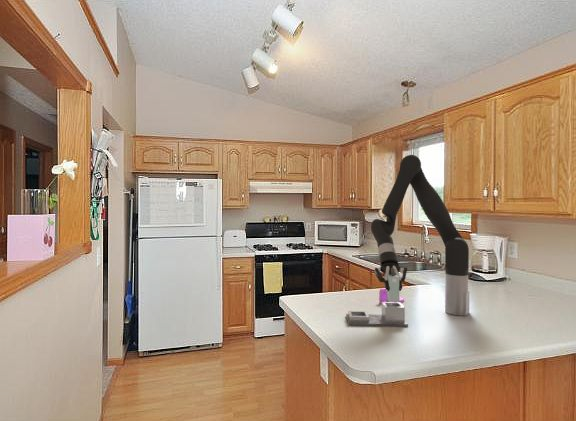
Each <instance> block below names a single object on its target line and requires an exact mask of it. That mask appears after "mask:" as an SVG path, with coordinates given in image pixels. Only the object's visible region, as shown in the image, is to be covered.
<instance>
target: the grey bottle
mask: <svg viewBox="0 0 576 421" xmlns="http://www.w3.org/2000/svg"><path fill="white" fill-rule="evenodd" d="M399 276H400V275H399ZM399 276H398V275H395V268H391V275H387V277H388V282H389V287H390V290H389V291H387V299H388V300H389V301H400V300H399V297H400V291H399Z"/></svg>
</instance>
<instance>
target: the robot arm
mask: <svg viewBox="0 0 576 421" xmlns="http://www.w3.org/2000/svg"><path fill="white" fill-rule="evenodd" d="M409 186H411V187H412V190H413V192H414V195H415V196H416V200H417V201H418V202H419V205H420V207H421V209H422V211H423V213H424V214H425V216H426V217H427V219H428V220H429V222H430V223H431V225H432V226H433V227H434V228H435V230H436V231H437V232H438V234H439V237H440V238H441V240H442V243H443V244H444V247H445V250H444V256H445V258H444V259H445V260H444V268H445V269H444V270H445V271H444V276H445V277H444V278H445V281H444V282H445V283H444V284H445V286H444V293H445V294H444V297H445V299H444V304H445V306H444V308H445V310H444V311H445V313H446V314H449V315H454V316H465V317H466V316H468V314H470V291H469V266H470V265H469V263H470V262H469V260H470V258H469V257H470V255H469V254H470V252H469V251H470V250H469V249H470V248H469V244H468V243H467V241H466V240H465V239H464V238H463V236H462V235H461V234H460V232H459V231H458V229H457V227H456V226H455V225H454V223H453V221H452V218H451V215H450V213H449V211H448V208H447V206H446V205H445V203H444V201H443V199H442V198H441V195H440V194H439V193H438V192H437V191H436V189H435V188H434V187H433V186H432V184H430V181H429V180H428V179H427V178H426V175H425V173H424V171H423V169H422V162H421V160H420V158H419V157H418V156H417V155H415V154H407V155H405V156H404V157H403V158H402V159H401V161H400V164H399V170H398V173H397V177H396V179H395V182H394V184H393V186H392V188H391V190H390V192H389V194H388V196H387V198H386V200H385V202H384V205H383V207H382V210H381V213H382V215H384V216H385V217H386V218H385V219H386V220H384V219H381V218H375V219H374V220H372V222H371V224H370V230H371V233H372V236H373V237H374V239H375V241H376V244H377V249H378V250H377V251H378V252H377V253H378V259H379V260H378V261H379V265H380V267H379V268H377V267H375V268H374V275H375V276H376V278H377V280H378V281H379V283H383V284H384V289H386V290H387V291H389V290H390V287H389V282H388V277H387V275H391V268H395V275H398V276H399V292H401V291H402V290H403V284H402V283H405V281H406V277H407V273H408V267H404V268H403V267H401V266H400V264H399V259H398V256H397V250H396V248H395V244H394V240H393V238H392V234H393V233H394V231H395V227H396V226H395V225H396V220H397V215H398V214H399V211H400V209H401V206H402V205H403V204H402V203H403V202H404V199H405V195H406V194H407V190H408V188H409ZM400 272H401V273H400ZM382 273H383V275H384V277H383V275H382ZM400 274H402V275H401V276H400Z"/></svg>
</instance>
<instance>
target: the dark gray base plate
mask: <svg viewBox="0 0 576 421" xmlns="http://www.w3.org/2000/svg"><path fill="white" fill-rule="evenodd" d="M405 311H406V308H405V306H404V305H403V304H402V302H401V303H400V302H382V303H381V314H372V313H370V314H368V312H367V311H366V310H365V311H364V310H362V311H361V310H347V313H346V314H345V317H346V318H345V319H346V321H347V324H348V326H349V327H354V326H355V327H395V328H396V327H400V328H402V327H403V328H407V327H409V323H407V321H406V319H405V317H406V312H405Z"/></svg>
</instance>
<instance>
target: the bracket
mask: <svg viewBox="0 0 576 421" xmlns="http://www.w3.org/2000/svg"><path fill="white" fill-rule="evenodd" d="M378 294H379V298H378V300H379V302H380V303H379V304H382V302H400V303H401V304H402V303H404V302H405V298H404V297H401V296H399V300H400V301H389V300H388V299H387V290H386V289H385V287H384V288H383V287H382V288H380V289H379V292H378Z"/></svg>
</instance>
